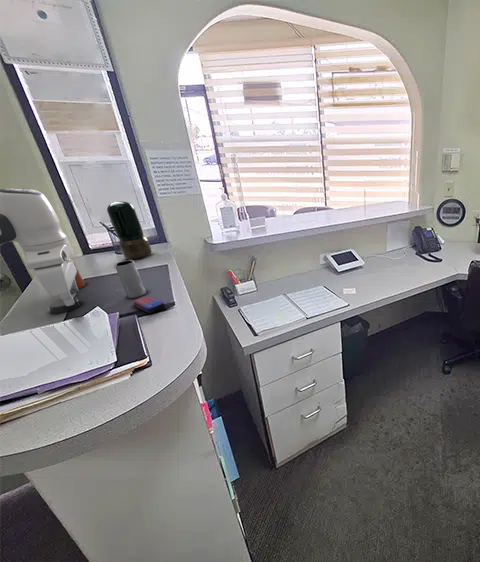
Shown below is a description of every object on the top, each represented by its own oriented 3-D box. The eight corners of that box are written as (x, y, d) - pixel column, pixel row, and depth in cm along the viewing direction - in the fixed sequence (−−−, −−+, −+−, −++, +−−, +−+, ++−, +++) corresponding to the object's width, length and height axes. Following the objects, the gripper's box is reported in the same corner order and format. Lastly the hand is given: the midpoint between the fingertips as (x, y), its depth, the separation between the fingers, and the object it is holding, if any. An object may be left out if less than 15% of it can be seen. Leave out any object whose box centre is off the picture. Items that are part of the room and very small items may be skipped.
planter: (148, 294, 93) (135, 262, 88) (130, 299, 89) (116, 267, 85) (143, 290, 95) (131, 258, 91) (126, 295, 92) (112, 263, 88)
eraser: (132, 305, 86) (129, 300, 85) (148, 299, 89) (146, 294, 88) (150, 315, 80) (148, 309, 79) (167, 308, 83) (164, 302, 82)
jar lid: (57, 305, 88) (54, 300, 87) (83, 300, 90) (80, 295, 89) (47, 315, 83) (44, 309, 82) (76, 309, 85) (72, 303, 84)
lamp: (155, 251, 131) (136, 198, 122) (149, 258, 123) (128, 202, 114) (129, 254, 128) (108, 201, 119) (121, 262, 120) (97, 205, 111)
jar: (61, 292, 96) (46, 264, 92) (63, 287, 100) (48, 259, 96) (85, 287, 99) (71, 259, 95) (85, 282, 103) (72, 255, 99)
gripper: (40, 245, 87) (63, 289, 93) (23, 265, 72) (51, 316, 78) (70, 240, 90) (90, 283, 96) (60, 258, 75) (84, 308, 81)
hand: (73, 298), depth 87 cm, fingers open, 8 cm apart
